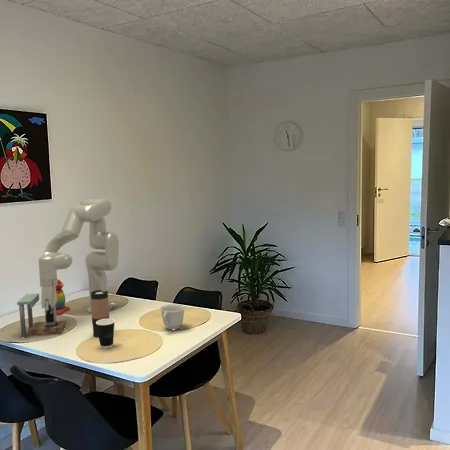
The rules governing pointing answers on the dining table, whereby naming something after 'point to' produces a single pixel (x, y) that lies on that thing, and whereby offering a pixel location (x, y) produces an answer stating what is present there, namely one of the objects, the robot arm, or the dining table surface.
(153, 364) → the dining table surface
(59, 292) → the rainbow stacking rings
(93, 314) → the travel mug
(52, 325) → the peg
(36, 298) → the green topped stand
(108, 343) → the dixie cup
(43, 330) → the socket block
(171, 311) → the teacup
